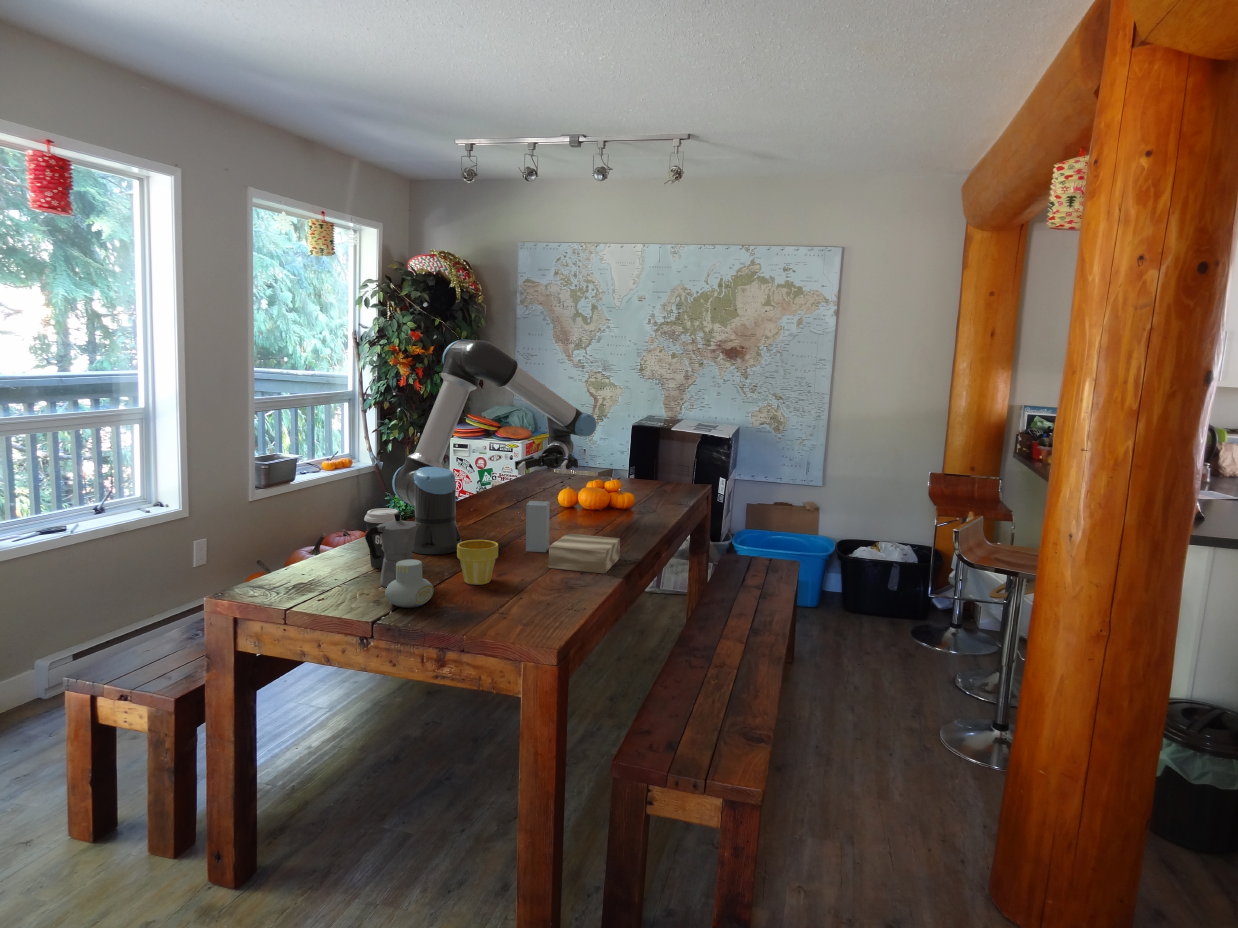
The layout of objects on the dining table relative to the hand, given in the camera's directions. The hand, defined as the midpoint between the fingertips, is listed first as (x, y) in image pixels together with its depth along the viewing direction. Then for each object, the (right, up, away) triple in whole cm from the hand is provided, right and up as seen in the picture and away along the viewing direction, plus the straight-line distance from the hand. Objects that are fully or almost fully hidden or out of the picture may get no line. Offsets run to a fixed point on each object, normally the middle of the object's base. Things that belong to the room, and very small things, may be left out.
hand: (540, 470), depth 240 cm
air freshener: (-25, -31, -57) cm, 69 cm away
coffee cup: (-40, -26, -27) cm, 55 cm away
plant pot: (-12, -28, -38) cm, 49 cm away
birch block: (+14, -26, -19) cm, 35 cm away
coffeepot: (-32, -28, -43) cm, 61 cm away
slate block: (0, -24, -5) cm, 24 cm away
